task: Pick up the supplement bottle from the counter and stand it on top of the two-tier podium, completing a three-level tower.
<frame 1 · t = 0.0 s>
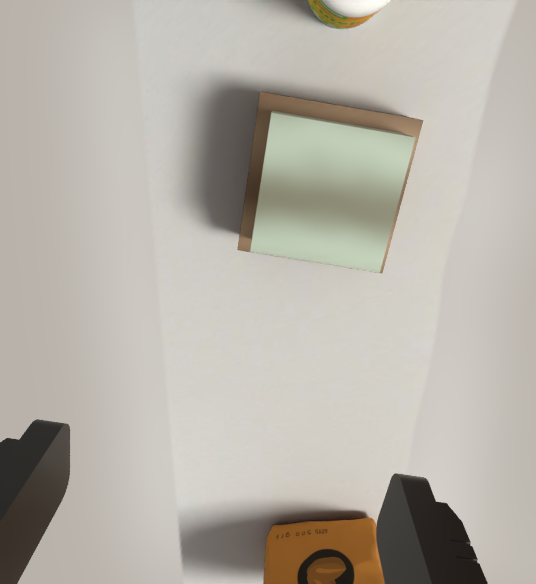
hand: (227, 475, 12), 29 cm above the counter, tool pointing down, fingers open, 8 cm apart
coffee package: (323, 539, 53), on the counter
podium: (321, 179, 38), on the counter
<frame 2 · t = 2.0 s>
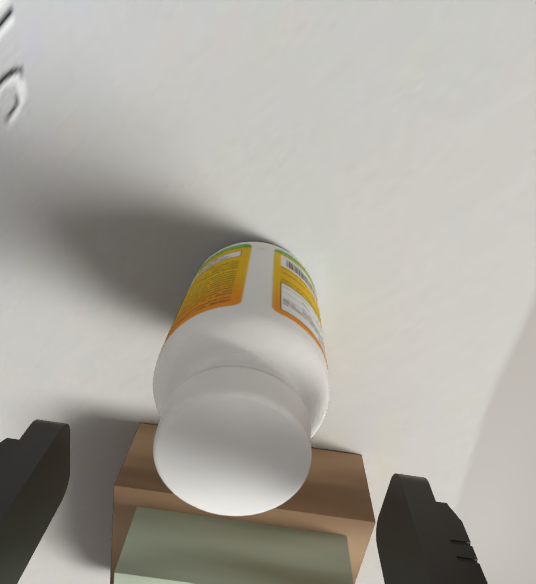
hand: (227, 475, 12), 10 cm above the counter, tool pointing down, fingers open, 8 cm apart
supplement bottle: (254, 296, 21), on the counter
podium: (237, 519, 26), on the counter
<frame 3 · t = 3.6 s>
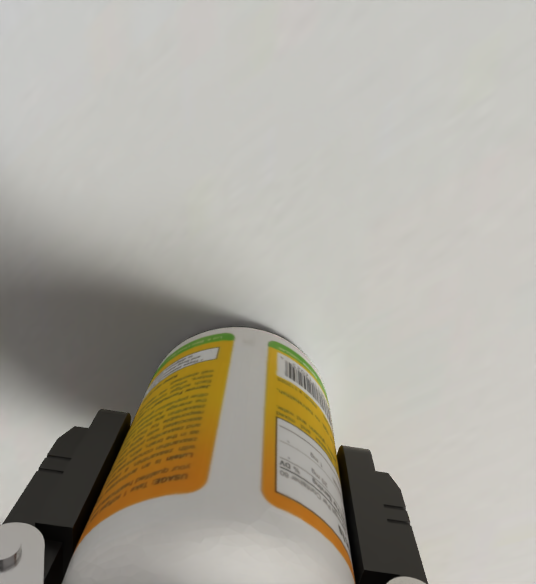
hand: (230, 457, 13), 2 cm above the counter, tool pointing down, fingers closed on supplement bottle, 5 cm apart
supplement bottle: (239, 396, 15), on the counter, touching gripper
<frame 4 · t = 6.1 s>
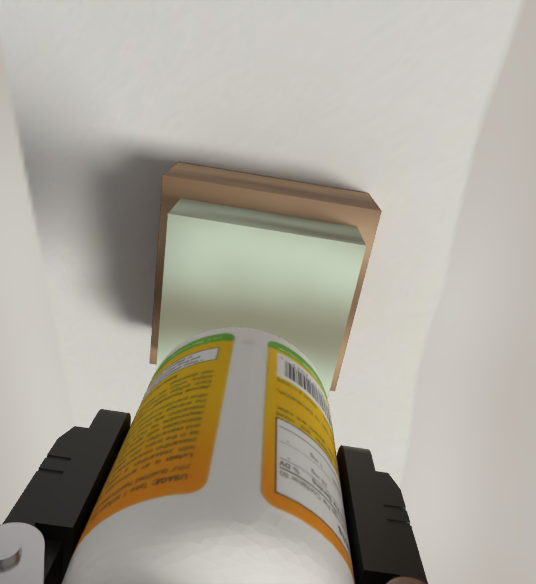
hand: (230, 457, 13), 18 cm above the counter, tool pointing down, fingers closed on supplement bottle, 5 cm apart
supplement bottle: (239, 397, 15), point 16 cm above the counter, touching gripper
podium: (260, 266, 30), on the counter
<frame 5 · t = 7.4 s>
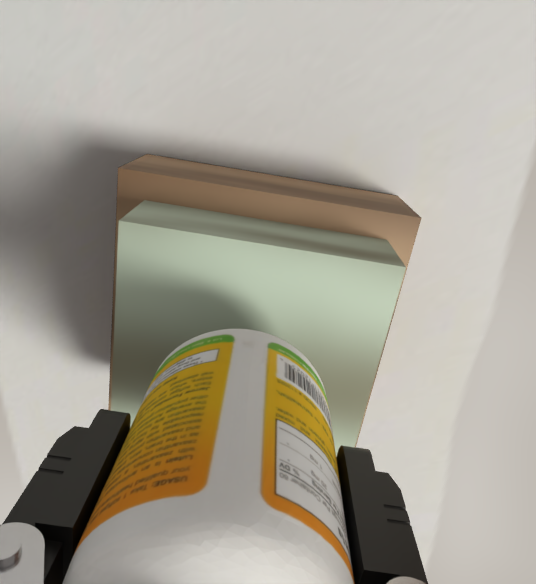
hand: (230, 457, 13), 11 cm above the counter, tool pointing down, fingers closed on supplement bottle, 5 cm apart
supplement bottle: (239, 398, 15), point 9 cm above the counter, touching gripper
podium: (254, 290, 23), on the counter
when the fingers open (11 cm above the counter, at t = 8.4 s): supplement bottle drops 1 cm, resting on podium.
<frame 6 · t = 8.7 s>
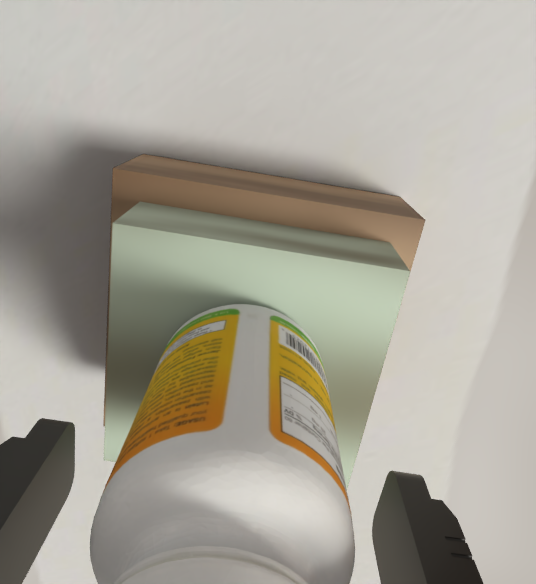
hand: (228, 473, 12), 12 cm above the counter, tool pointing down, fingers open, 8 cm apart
supplement bottle: (243, 370, 16), point 7 cm above the counter, touching podium
podium: (253, 293, 23), on the counter
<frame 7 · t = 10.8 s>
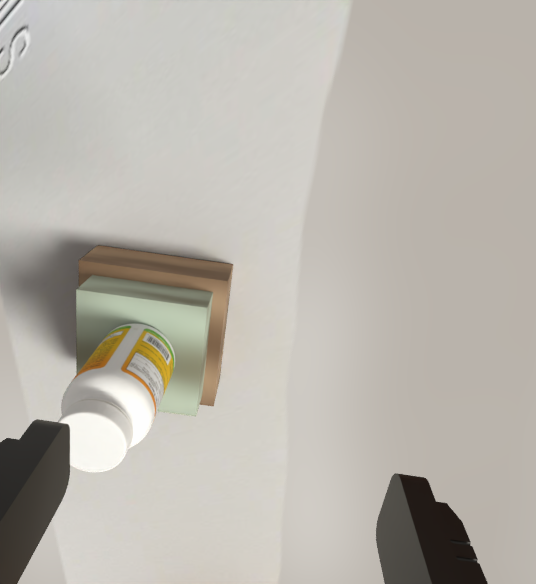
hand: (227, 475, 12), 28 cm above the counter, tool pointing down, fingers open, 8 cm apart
supplement bottle: (140, 354, 35), point 7 cm above the counter, touching podium
podium: (161, 316, 42), on the counter
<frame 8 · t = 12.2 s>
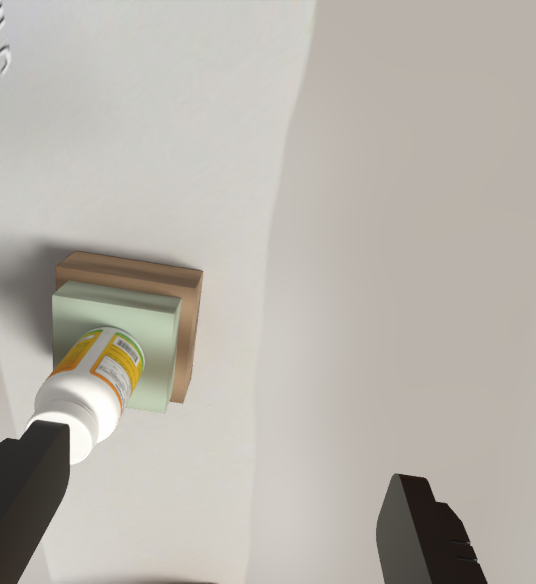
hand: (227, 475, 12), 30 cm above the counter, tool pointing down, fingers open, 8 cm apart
supplement bottle: (112, 355, 38), point 7 cm above the counter, touching podium
podium: (136, 317, 44), on the counter
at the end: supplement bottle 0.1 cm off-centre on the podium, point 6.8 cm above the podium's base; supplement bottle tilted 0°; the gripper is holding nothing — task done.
